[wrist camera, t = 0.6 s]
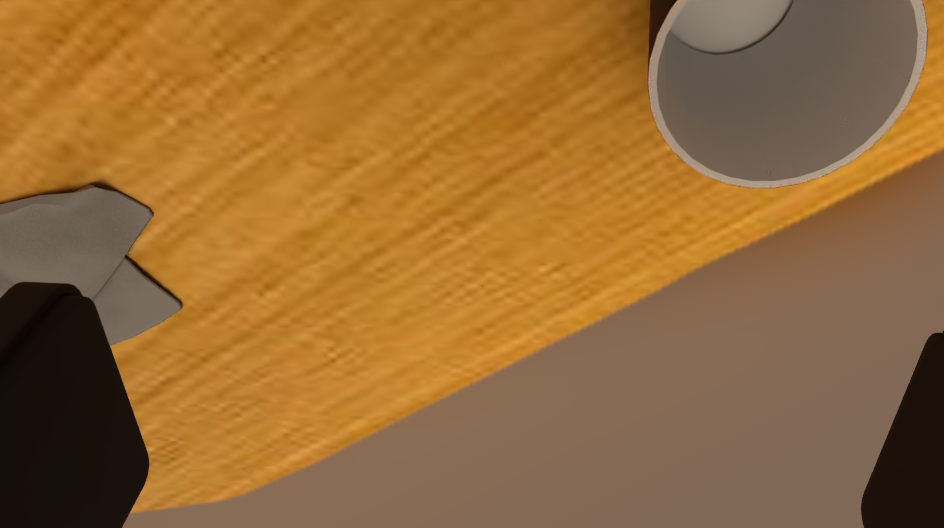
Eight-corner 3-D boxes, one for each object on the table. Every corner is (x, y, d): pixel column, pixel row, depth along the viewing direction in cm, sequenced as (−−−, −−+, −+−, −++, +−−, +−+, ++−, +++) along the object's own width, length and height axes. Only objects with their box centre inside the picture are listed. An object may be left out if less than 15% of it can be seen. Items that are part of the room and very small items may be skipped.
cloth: (17, 101, 40) (-9, 119, 38) (232, 275, 45) (218, 299, 43) (-180, 347, 51) (-208, 371, 49) (9, 464, 56) (-9, 489, 54)
